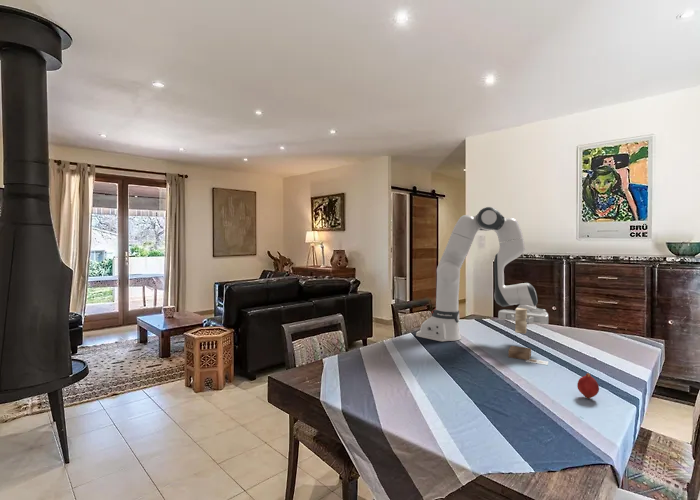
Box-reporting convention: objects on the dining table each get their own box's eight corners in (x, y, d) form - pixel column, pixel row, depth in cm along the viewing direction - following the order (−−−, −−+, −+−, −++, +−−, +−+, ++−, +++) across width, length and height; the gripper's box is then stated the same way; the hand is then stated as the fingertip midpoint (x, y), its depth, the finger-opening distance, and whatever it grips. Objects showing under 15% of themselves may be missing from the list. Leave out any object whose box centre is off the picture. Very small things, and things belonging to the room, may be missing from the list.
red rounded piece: (578, 392, 122) (579, 368, 122) (599, 397, 119) (600, 372, 119) (575, 398, 118) (576, 373, 118) (597, 403, 114) (598, 378, 114)
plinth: (508, 357, 159) (508, 350, 159) (511, 352, 166) (511, 345, 166) (529, 360, 155) (529, 352, 155) (531, 355, 162) (531, 348, 162)
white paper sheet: (525, 361, 154) (525, 361, 154) (527, 358, 158) (527, 357, 158) (547, 365, 149) (547, 364, 149) (548, 362, 154) (548, 361, 154)
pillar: (515, 332, 160) (515, 309, 160) (516, 330, 163) (516, 307, 163) (525, 333, 158) (525, 310, 157) (526, 331, 161) (526, 308, 161)
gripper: (500, 305, 177) (495, 309, 165) (549, 309, 166) (547, 315, 154) (500, 318, 177) (495, 324, 165) (549, 323, 166) (547, 330, 154)
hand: (520, 319), depth 160 cm, fingers closed on pillar, 4 cm apart
